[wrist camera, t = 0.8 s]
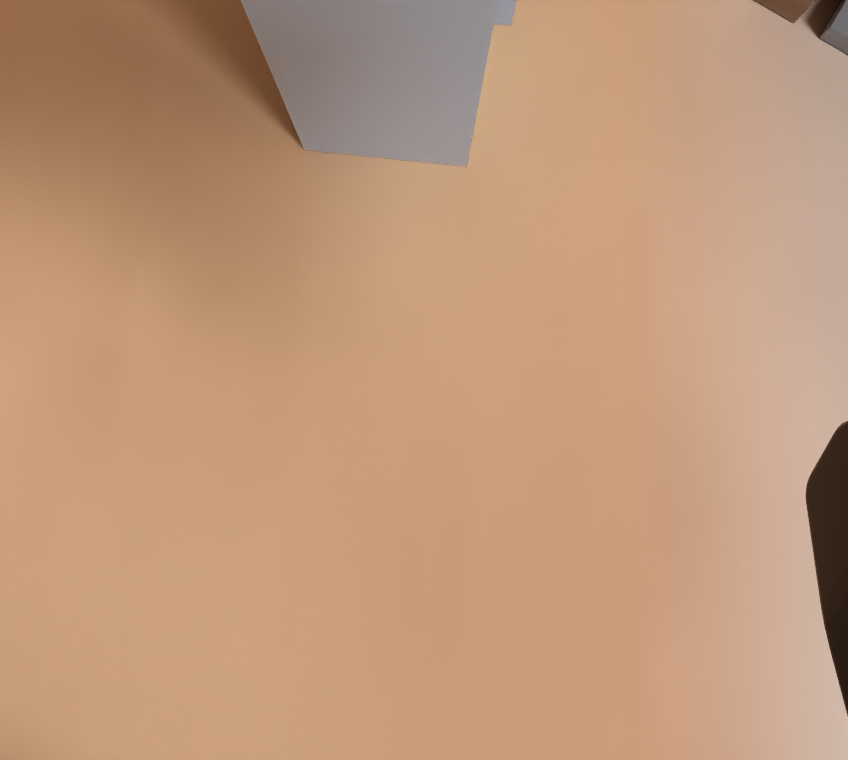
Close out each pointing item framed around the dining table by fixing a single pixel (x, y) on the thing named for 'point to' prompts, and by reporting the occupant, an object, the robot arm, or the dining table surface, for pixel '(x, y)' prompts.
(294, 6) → the tall grey prism
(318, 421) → the dining table surface
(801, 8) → the brown hollow brick
